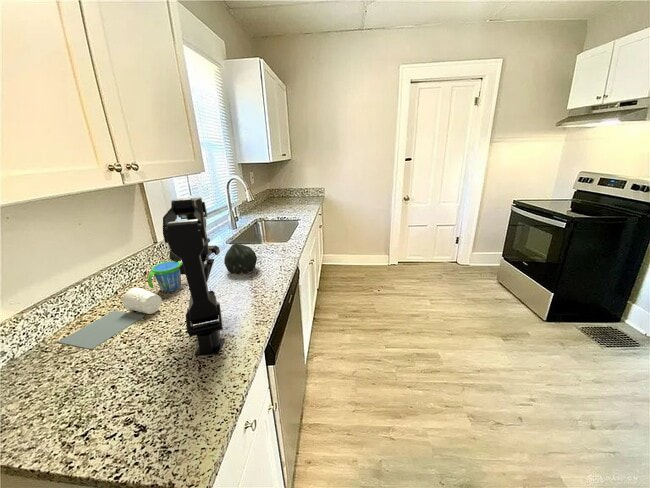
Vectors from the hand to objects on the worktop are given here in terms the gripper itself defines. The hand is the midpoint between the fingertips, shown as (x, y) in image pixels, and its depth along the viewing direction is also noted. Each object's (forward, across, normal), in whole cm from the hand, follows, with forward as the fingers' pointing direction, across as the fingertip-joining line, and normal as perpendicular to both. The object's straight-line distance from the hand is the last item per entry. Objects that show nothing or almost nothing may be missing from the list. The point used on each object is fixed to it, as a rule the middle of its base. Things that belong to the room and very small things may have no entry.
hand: (205, 282), depth 93 cm
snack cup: (+12, -22, -24) cm, 35 cm away
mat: (+12, +5, -32) cm, 35 cm away
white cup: (+9, -2, -20) cm, 22 cm away
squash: (+12, -37, +2) cm, 39 cm away
